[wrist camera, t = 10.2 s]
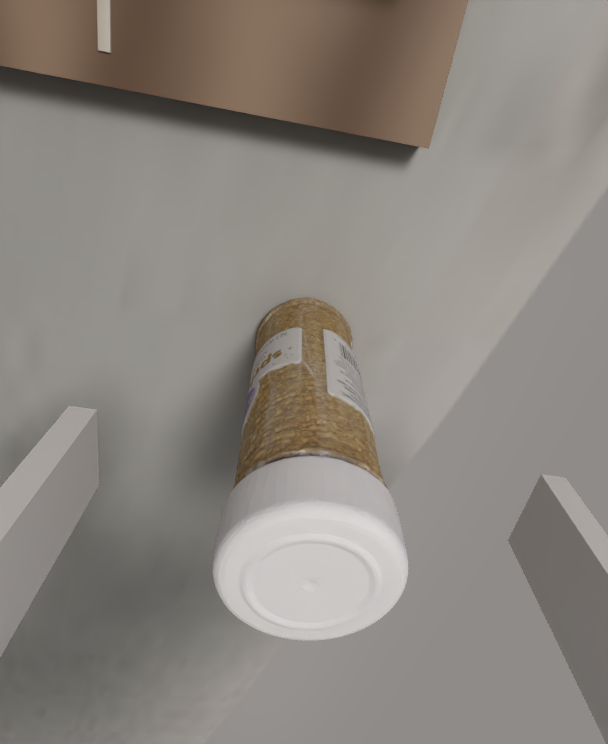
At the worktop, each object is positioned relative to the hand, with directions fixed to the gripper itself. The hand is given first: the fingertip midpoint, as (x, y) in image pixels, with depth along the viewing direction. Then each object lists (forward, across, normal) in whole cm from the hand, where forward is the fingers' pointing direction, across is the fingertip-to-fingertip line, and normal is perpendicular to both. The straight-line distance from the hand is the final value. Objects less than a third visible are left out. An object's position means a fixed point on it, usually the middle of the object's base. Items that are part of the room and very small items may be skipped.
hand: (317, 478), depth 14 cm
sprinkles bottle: (+10, 0, 0) cm, 10 cm away
